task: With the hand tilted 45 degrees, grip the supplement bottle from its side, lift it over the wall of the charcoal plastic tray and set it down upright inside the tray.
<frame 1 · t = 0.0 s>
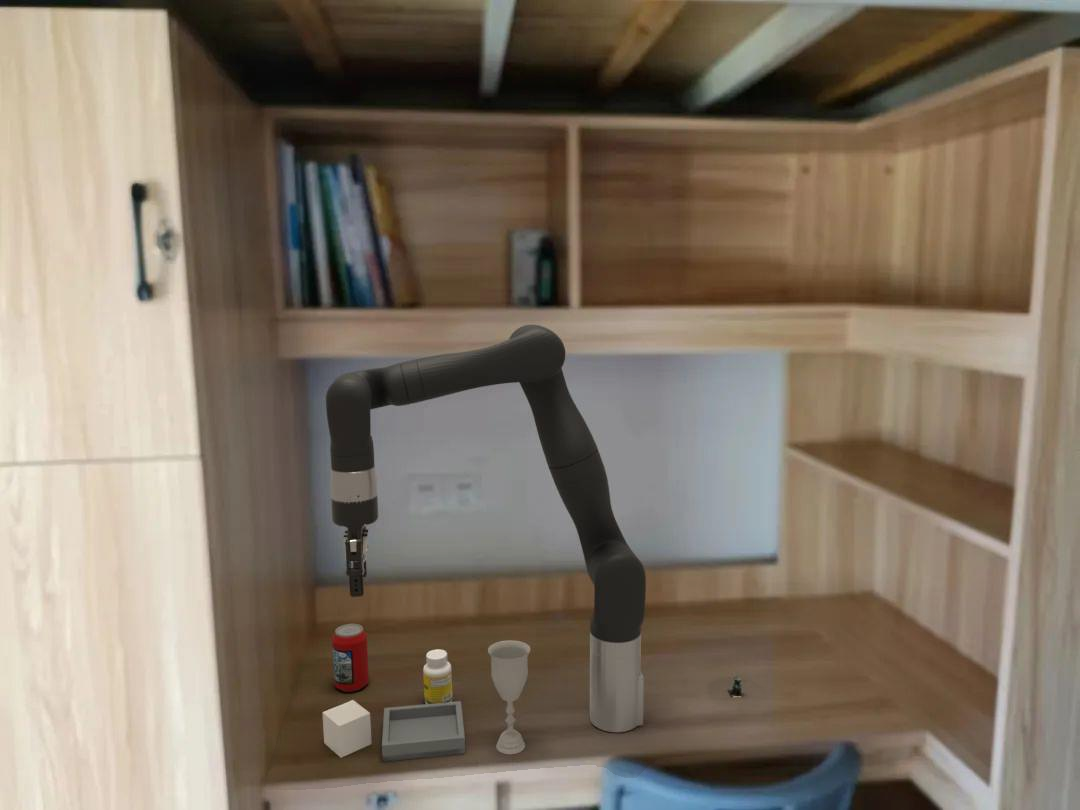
hand: (358, 586, 135), 29 cm above the table, tool pointing down, fingers open, 8 cm apart
supplement bottle: (438, 702, 154), on the table
chalice: (510, 746, 139), on the table
tray: (423, 737, 142), on the table
beverage can: (351, 686, 160), on the table
sculpture: (737, 695, 156), on the table
white cube: (347, 744, 141), on the table
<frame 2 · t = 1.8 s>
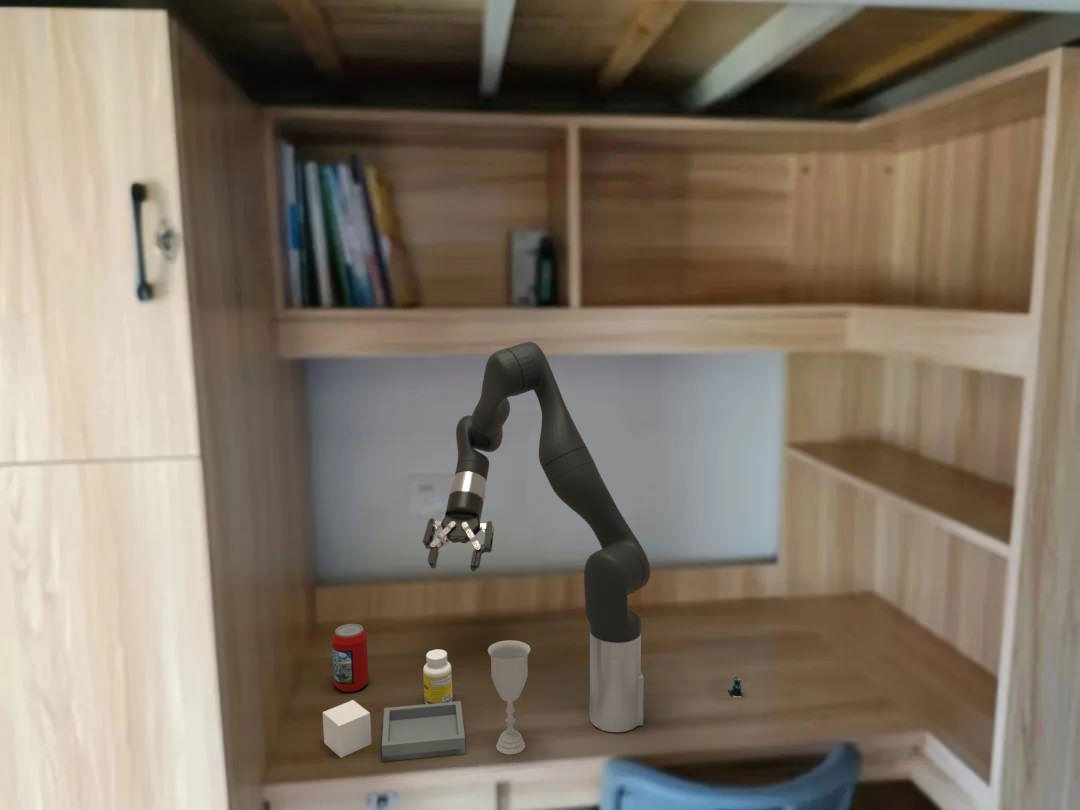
hand: (452, 568, 161), 23 cm above the table, tool tilted 45°, fingers open, 8 cm apart
nothing on the table moved.
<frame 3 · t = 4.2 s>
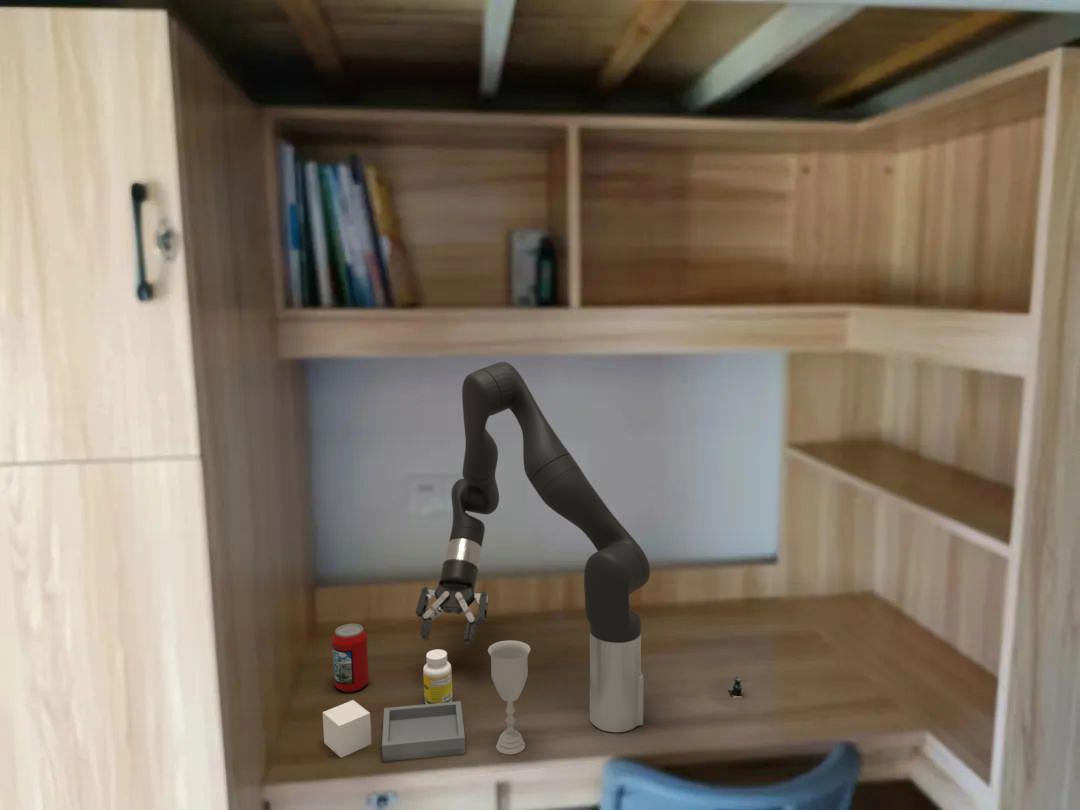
hand: (445, 641, 158), 10 cm above the table, tool tilted 45°, fingers open, 8 cm apart
nothing on the table moved.
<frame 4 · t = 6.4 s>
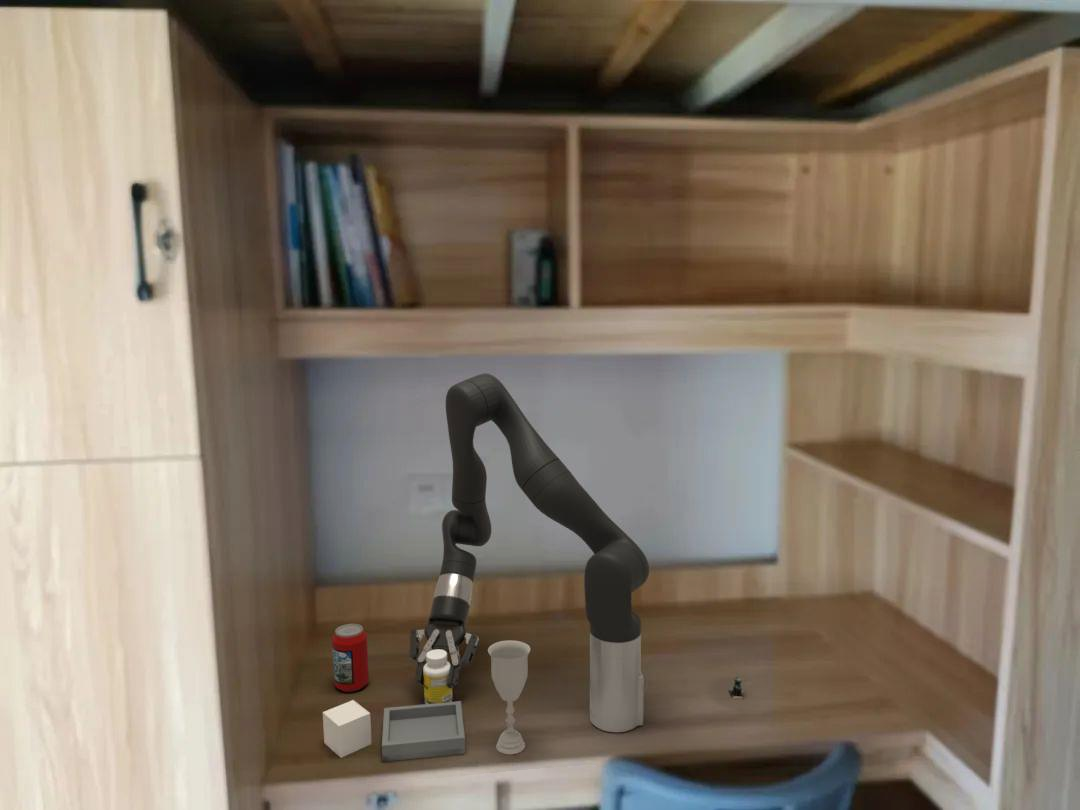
hand: (434, 685, 152), 4 cm above the table, tool tilted 45°, fingers closed on supplement bottle, 5 cm apart
supplement bottle: (438, 702, 154), on the table, touching gripper
everything else where it was.
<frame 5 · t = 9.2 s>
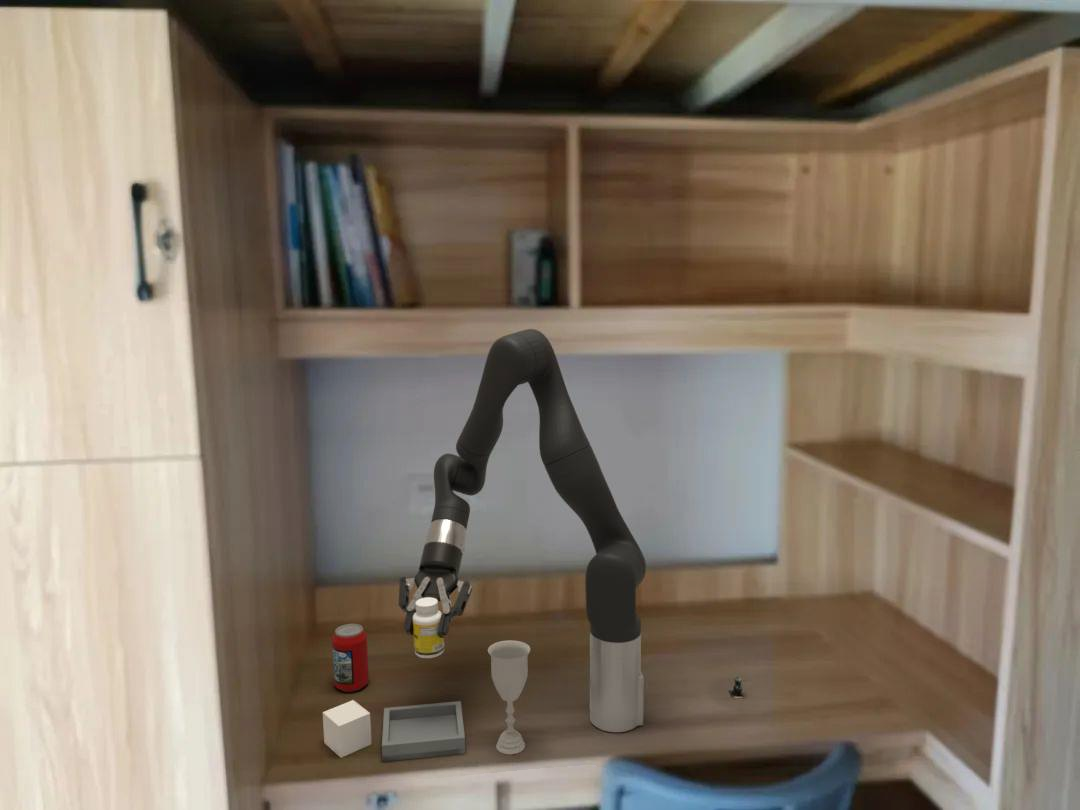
hand: (425, 634, 143), 18 cm above the table, tool tilted 45°, fingers closed on supplement bottle, 5 cm apart
supplement bottle: (429, 653, 145), point 13 cm above the table, touching gripper
everything else where it was.
when the fingers open (7 cm above the table, at t = 12.2 s): supplement bottle drops 2 cm, resting on tray.
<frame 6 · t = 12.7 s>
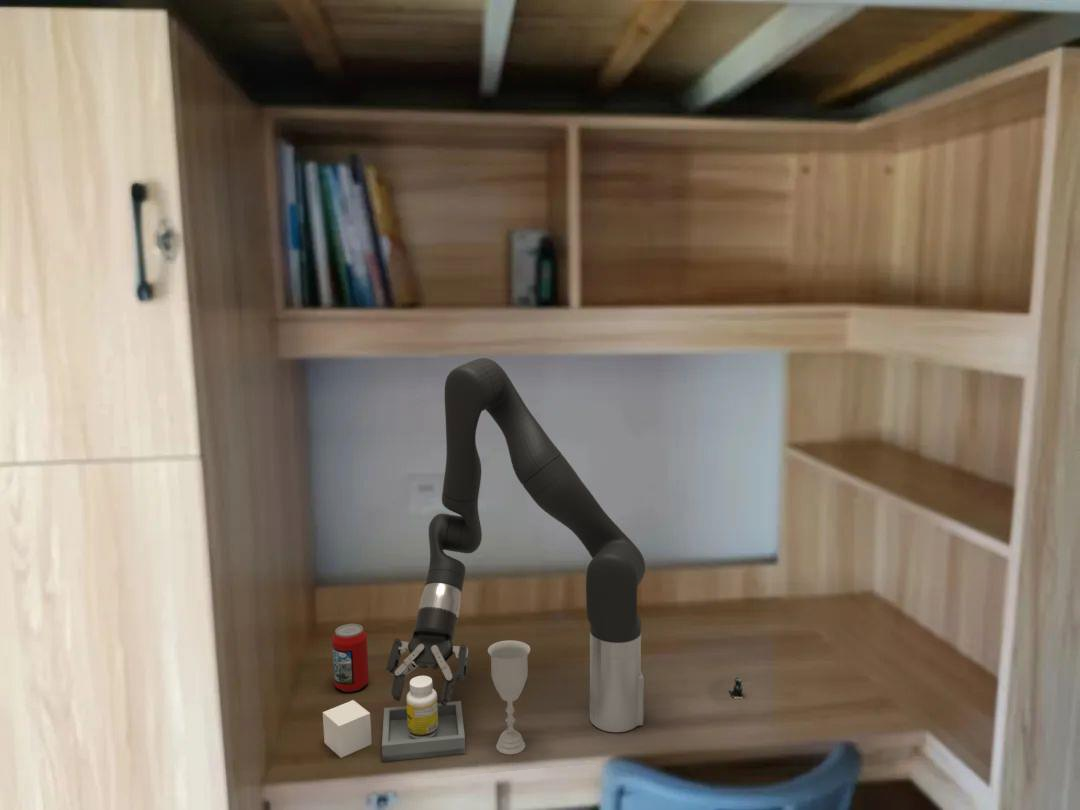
hand: (419, 702, 139), 8 cm above the table, tool tilted 45°, fingers open, 8 cm apart
supplement bottle: (423, 732, 142), point 1 cm above the table, touching tray
everything else where it was.
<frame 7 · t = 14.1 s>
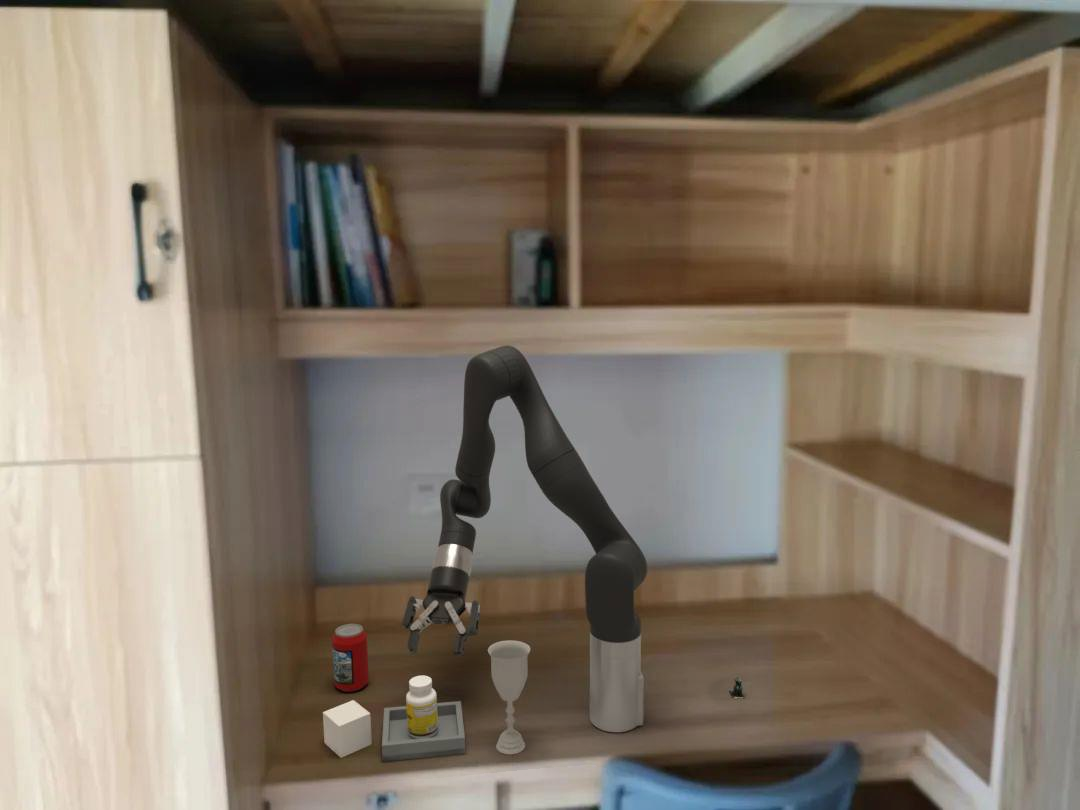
hand: (434, 654, 147), 12 cm above the table, tool tilted 45°, fingers open, 8 cm apart
nothing on the table moved.
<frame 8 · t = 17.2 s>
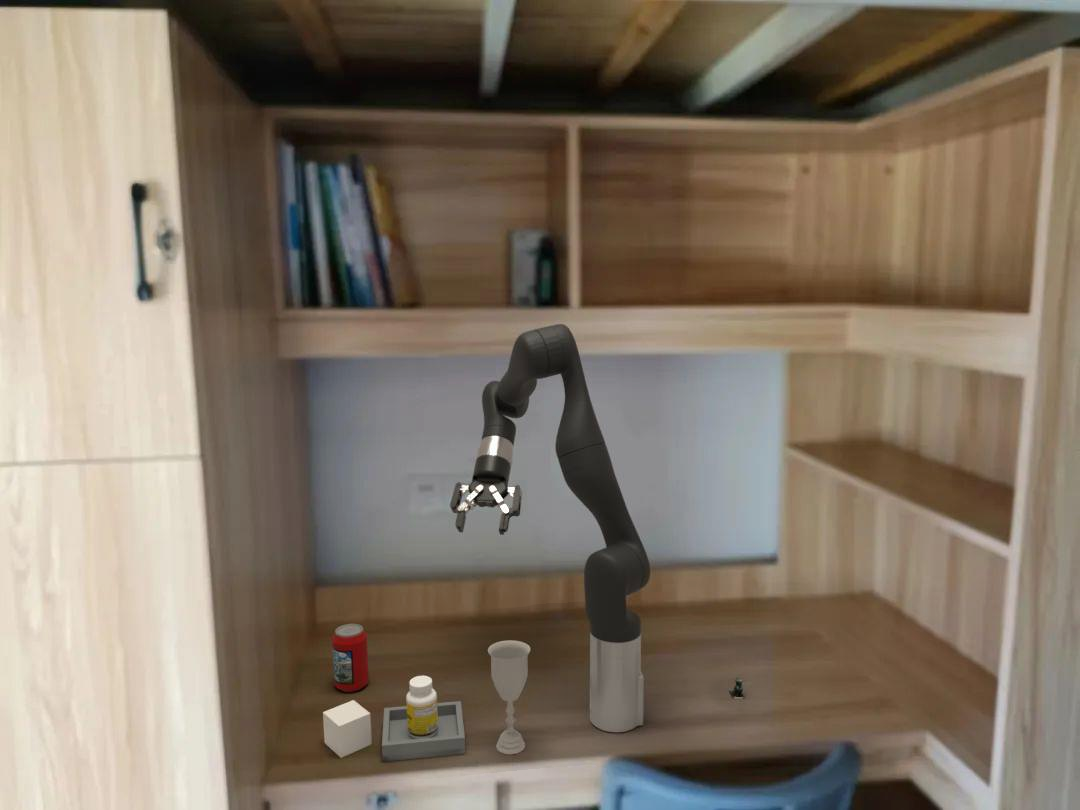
hand: (480, 531, 159), 31 cm above the table, tool tilted 45°, fingers open, 8 cm apart
nothing on the table moved.
at the end: supplement bottle inside the target area on the tray (0.3 cm from its centre), point 0.8 cm above the tray's base; supplement bottle tilted 0°; the gripper is holding nothing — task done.
